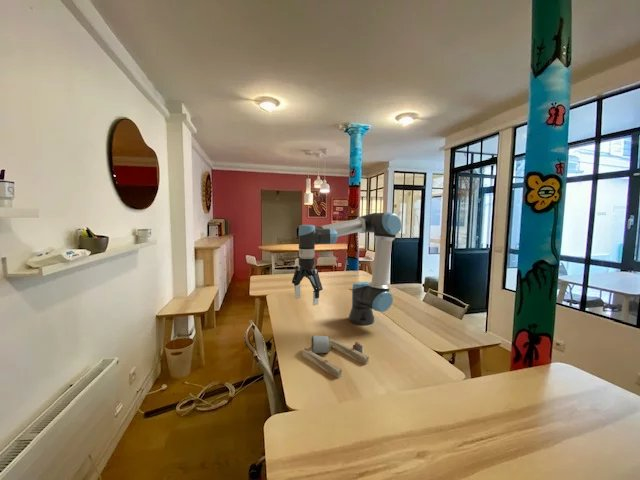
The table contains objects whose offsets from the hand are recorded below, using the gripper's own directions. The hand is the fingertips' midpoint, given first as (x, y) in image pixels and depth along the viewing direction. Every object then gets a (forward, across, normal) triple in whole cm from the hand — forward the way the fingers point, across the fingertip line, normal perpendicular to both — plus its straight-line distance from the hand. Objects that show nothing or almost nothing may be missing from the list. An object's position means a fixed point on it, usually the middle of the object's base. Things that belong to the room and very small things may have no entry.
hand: (306, 301), depth 136 cm
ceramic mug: (+22, +9, +1) cm, 23 cm away
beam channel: (+21, +19, +2) cm, 29 cm away
